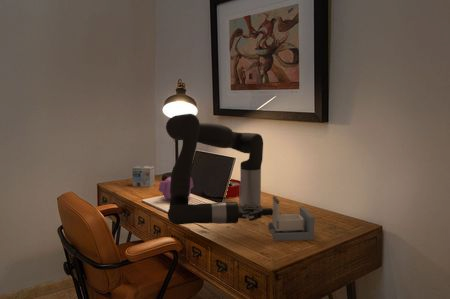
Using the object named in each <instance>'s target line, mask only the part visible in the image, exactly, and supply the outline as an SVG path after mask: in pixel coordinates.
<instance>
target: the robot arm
mask: <svg viewBox="0 0 450 299" xmlns="http://www.w3.org/2000/svg"><path fill="white" fill-rule="evenodd" d="M165 124H166V125H165V129H166V133H167V134H168V136H169V137H171V139H174V140H175V141H182V146H181V149H180V150H181V151H180V152H179V155H178V157H177V159H176V161H175V163H174V165H173V168H172V171H171V174H170V177H171V183H170V195H171V197H170V199H169V207H168V209H167V210H168V211H167V218H168V221H169V222H170V223H172V224H173V225H179V226H180V225H190V224H217V225H225V224H238V223H239V219H243V220H248V221H250V222H252V221H256V220H258V219H259V220H260V219H262V218H263V216H273V207H272V208H271V207H265V208H264V207H263V208H262V207H261V203H262V202H261V198H262V197H261V196H262V195H261V194H262V189H261V188H262V163H263V158H264V156H263V154H264V139H263V136H262V135H261V134H260V133H255V132H254V133H253V132H239V131H238V132H236V131H233V130H232V129H231V128H230V127H228V126H226V125H223V124H219V123H213V122H211V123H210V122H209V123H207V122H200V120H199V118H198V117H197V116H196V115H195V114H193V113H184V114H183V113H182V114H178V115H174V116H172V117H170V118H169V119H168V120H167V122H166V123H165ZM198 143H199V144H202V145H206V146H209V147H215V148H219V149H232V150H235V151H237V152H239V153H242V154H249V155H248V156H249V157H248V159H247V160H243V161H241V162H240V167H239V168H240V179H239V181H240V185H239V196H238V198H239V199H238V202H237V201H230V202H229V201H223V202H220V201H219V202H212V203H209V202H207V203H197V204H195V203H194V204H192V203H191V204H190V203H189V197H190V195H189V192H191V189H190V179H191V178H192V177H191V175H192V167H193V163H194V158H195V153H196V150H197V145H198ZM238 203H239V204H238ZM239 205H240V206H239Z"/></svg>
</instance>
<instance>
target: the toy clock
mask: <svg viewBox="0 0 450 299" xmlns="http://www.w3.org/2000/svg"><path fill="white" fill-rule="evenodd" d="M230 179H231V180H230V184H229V187H228V191H227V195H226V198H225V199H230V198H229V197H233V198H237V197H236V196H238V197H239V185H240V179H234V178H230Z"/></svg>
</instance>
